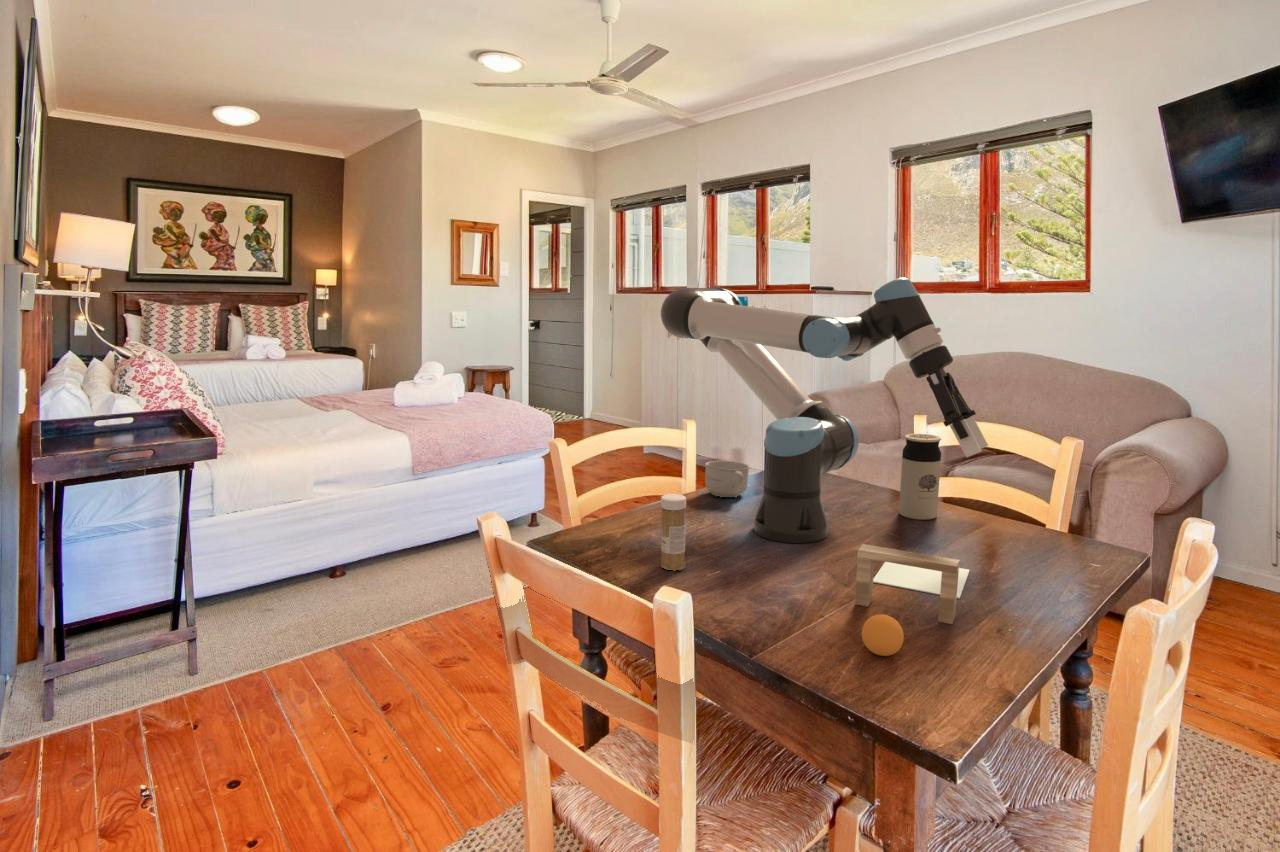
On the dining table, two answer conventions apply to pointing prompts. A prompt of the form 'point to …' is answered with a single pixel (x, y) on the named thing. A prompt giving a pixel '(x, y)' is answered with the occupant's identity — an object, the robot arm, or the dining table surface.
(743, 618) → the dining table surface
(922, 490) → the travel mug
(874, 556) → the bridge
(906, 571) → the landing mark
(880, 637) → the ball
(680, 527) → the sprinkles bottle
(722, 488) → the teacup
